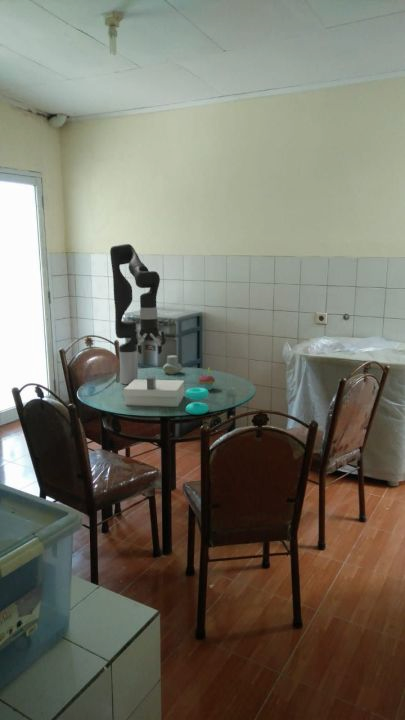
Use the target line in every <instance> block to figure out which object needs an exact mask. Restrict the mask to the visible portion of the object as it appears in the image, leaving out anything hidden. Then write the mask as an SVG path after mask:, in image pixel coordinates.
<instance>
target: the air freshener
mask: <svg viewBox="0 0 405 720" xmlns="http://www.w3.org/2000/svg"><path fill="white" fill-rule="evenodd" d="M178 361H179V360H178V355H174V354H173V355H172V354H171V355H167V356H166V363H165V364H164V365H163V367H162V370H163V372H164V373H166V374H168V375H171V374H172V375H176V374H179V373H181V372H182V370H183V367H182V364H181V363H179V362H178Z"/></svg>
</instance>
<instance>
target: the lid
mask: <svg viewBox="0 0 405 720" xmlns="http://www.w3.org/2000/svg"><path fill="white" fill-rule="evenodd" d="M183 383H184V384H185V380H179V379H176V380H175V379H174V380H173V379H170V380H169V379H156V376H147V378H146V379H138V380H133V381H132V382H131V383H130V384H127V386H125V387H124V388H123V396H124V397H125V396H150V397H177V392H178V390H179V389H180V387H181V386H182V384H183Z"/></svg>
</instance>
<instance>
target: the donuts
mask: <svg viewBox="0 0 405 720" xmlns="http://www.w3.org/2000/svg"><path fill="white" fill-rule="evenodd" d="M184 395H185V396H186V397H187V398H188V399H191V400H203V399H206V398H207V397H208V396H209V390H207V389H205V388H202V387H190V388H187V390H185V391H184ZM209 410H210V408H209V405H208V404H206V403H204V402H199V401H198V402H197V401H196V402H195V401H194V402H191V403H188V404H187V406H186V407H185V411H186V413H188V414H190V415H193V416H194V415H195V416H198V415H204V414H207V413H208V412H209Z"/></svg>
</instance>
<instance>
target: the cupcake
mask: <svg viewBox="0 0 405 720" xmlns="http://www.w3.org/2000/svg"><path fill="white" fill-rule="evenodd" d="M210 369H211V368H210V367H208V368H207V374H205V375H201V376H200V377H199V378H198V379H197V382H198V384H200V388H205V389H207V390H208V391H211V390H212V389H213V386H214V383H215V382H216V379H215V378H214V377H213V376H212V375H210Z"/></svg>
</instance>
